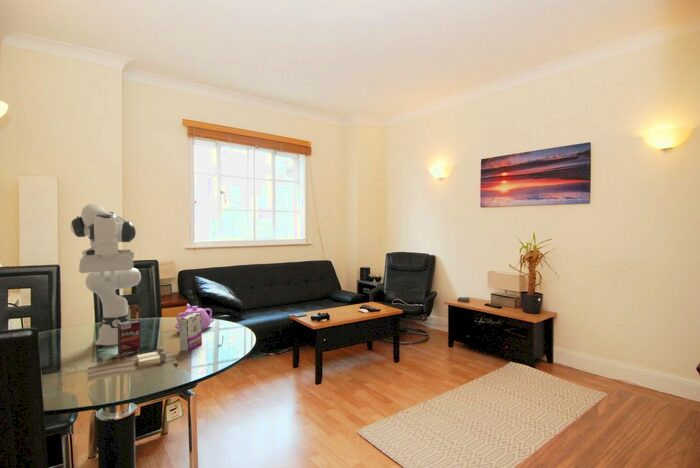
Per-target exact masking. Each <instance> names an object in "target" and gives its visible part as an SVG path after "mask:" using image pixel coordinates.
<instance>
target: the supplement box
mask: <svg viewBox="0 0 700 468" xmlns="http://www.w3.org/2000/svg"><path fill="white" fill-rule="evenodd" d="M128 321H129V320H128ZM137 352H141V322H140V320H138V319H136V320H130V321H129V322H123V323H118V344H117V355H119V356H124V355H128V354H133V353H137Z"/></svg>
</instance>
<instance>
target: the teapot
mask: <svg viewBox="0 0 700 468" xmlns="http://www.w3.org/2000/svg"><path fill="white" fill-rule="evenodd" d="M207 311H209V314H208V312H207ZM192 313H201V331H204V330H207V329H208V328H209V326H210V325H211V324H212V323H213V322H214V318H213V317H212V315H213V310H212V309H211V308H202V307H199V306H198V305H193V306H191V305H190V303H186V309H185V311H184V312H179V313H178V314H177V315H176V320H177V323H176V324H175V326H174V328H175V329H176V330H177V329H178V330H179V318H182V317H184V316H187V315H189V314H192ZM180 316H181V317H180Z"/></svg>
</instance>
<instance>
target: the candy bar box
mask: <svg viewBox="0 0 700 468" xmlns="http://www.w3.org/2000/svg"><path fill="white" fill-rule="evenodd" d="M181 317H182V316H181ZM181 317H179V325H178V327H179V329H178V330H179V346H180V352H190V351H193V350H194V349H196V348H198V347H199V346H201V345H202V344H203V340H202V338H203V336H202V335H203V334H202V330H201V313H192V314H189V315H187V316H184V317H182V318H181Z"/></svg>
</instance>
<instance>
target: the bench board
mask: <svg viewBox="0 0 700 468" xmlns="http://www.w3.org/2000/svg"><path fill="white" fill-rule="evenodd" d="M157 352H158V354H159V356H160V360H161V363H159V364H154V365H150V366H145V367H140V368H139V365H138V361H137V357H134V358H129V359H125V360H119V361H114V362H109V363H104V364H98V365H92V366H88V367H87V383H88V382H93V381H99V380H103V379H107V378H111V377H116V376H121V375H126V374H131V373H135V372H140V371H145V370H150V369H154V368H158V367H164V366H168V365H173V366H174V367H178V366H179V363H178V360H177V359H176V358H175V356H174V354H173V352H172V351H170V350H169V351H164V347H163V346H160V347H157Z"/></svg>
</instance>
